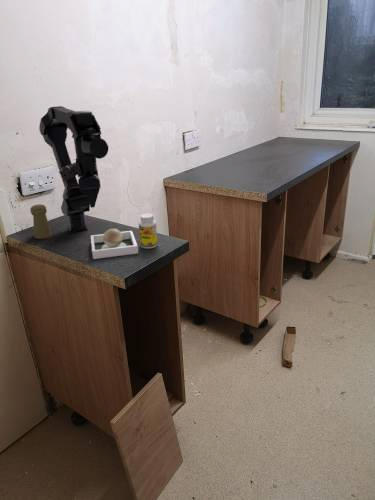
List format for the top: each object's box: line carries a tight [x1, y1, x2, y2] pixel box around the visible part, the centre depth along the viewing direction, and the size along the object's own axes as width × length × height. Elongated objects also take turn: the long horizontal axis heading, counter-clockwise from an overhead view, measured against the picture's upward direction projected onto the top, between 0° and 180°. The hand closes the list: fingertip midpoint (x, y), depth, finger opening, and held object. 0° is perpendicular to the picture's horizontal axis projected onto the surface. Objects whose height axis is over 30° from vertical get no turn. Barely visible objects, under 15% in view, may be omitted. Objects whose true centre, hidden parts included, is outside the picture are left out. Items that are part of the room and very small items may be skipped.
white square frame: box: [90, 230, 139, 260], centre depth 127 cm, size 14×14×2 cm
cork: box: [30, 203, 53, 240], centre depth 137 cm, size 6×6×11 cm
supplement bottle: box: [138, 213, 158, 249], centre depth 126 cm, size 6×6×10 cm
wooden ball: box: [103, 228, 123, 247], centre depth 126 cm, size 6×6×6 cm
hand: (92, 203), depth 128 cm, fingers open, 9 cm apart
